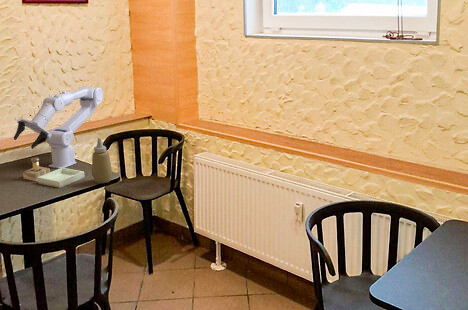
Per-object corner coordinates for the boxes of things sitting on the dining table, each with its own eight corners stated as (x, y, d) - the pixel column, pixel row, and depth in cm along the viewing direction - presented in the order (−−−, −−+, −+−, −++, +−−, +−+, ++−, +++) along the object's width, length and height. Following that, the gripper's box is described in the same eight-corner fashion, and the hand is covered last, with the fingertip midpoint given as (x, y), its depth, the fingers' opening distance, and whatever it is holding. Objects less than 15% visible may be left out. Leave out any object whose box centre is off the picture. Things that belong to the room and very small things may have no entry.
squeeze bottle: (105, 185, 220) (102, 142, 214) (88, 183, 222) (84, 140, 217) (116, 179, 227) (113, 136, 222) (99, 177, 230) (96, 135, 224)
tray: (62, 173, 235) (62, 167, 234) (84, 177, 230) (84, 171, 229) (37, 183, 223) (37, 177, 222) (60, 187, 218) (59, 181, 217)
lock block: (38, 173, 235) (37, 166, 234) (50, 175, 232) (49, 168, 231) (23, 178, 228) (22, 171, 228) (36, 181, 225) (35, 174, 224)
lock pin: (37, 175, 232) (35, 157, 230) (42, 176, 231) (40, 158, 229) (31, 177, 230) (29, 159, 227) (37, 178, 228) (35, 160, 226)
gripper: (25, 105, 227) (6, 129, 219) (58, 122, 228) (40, 146, 220) (25, 114, 232) (7, 138, 225) (57, 130, 233) (39, 154, 226)
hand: (23, 143), depth 223 cm, fingers open, 7 cm apart
